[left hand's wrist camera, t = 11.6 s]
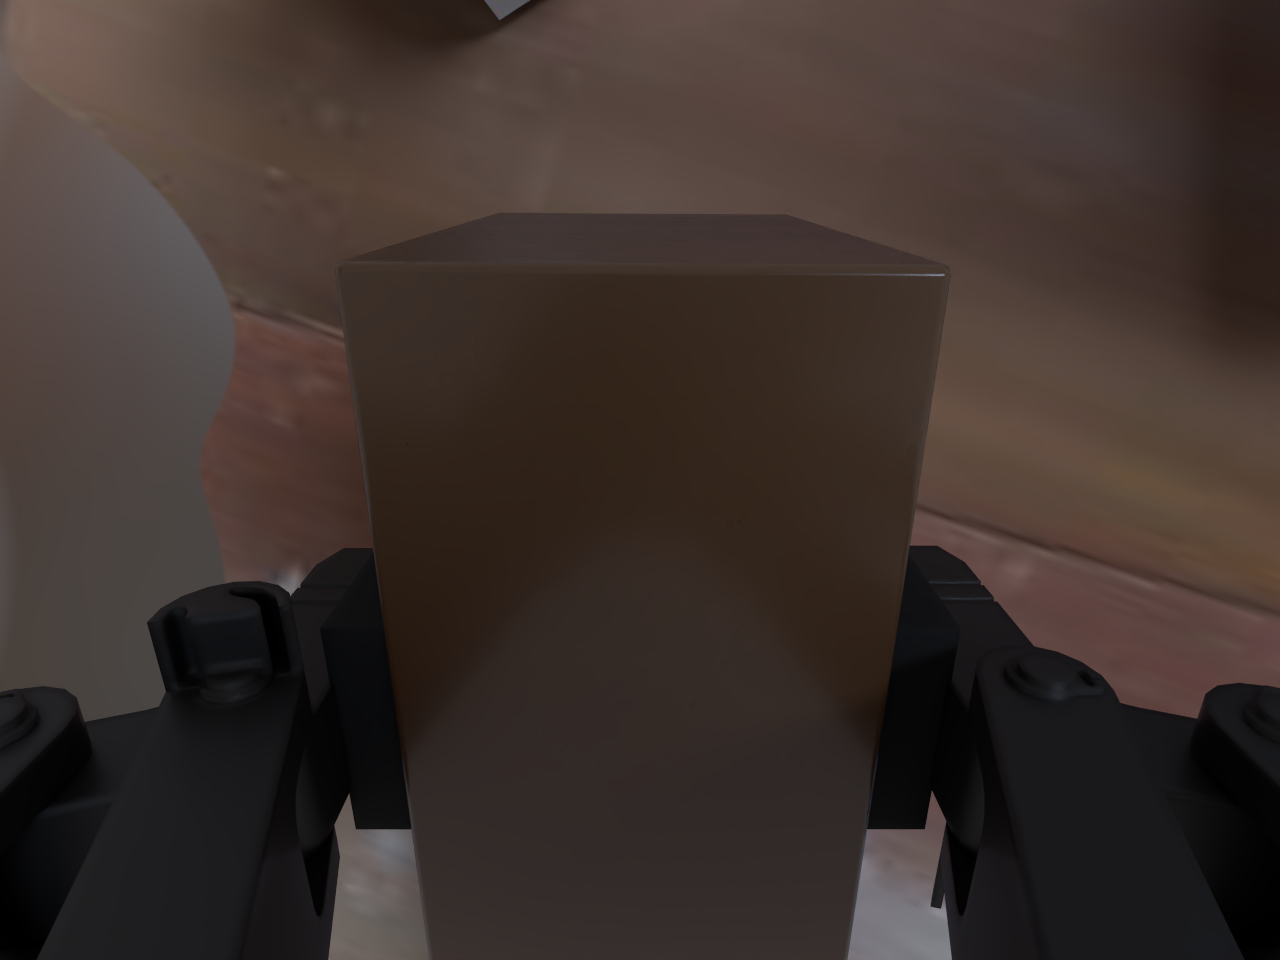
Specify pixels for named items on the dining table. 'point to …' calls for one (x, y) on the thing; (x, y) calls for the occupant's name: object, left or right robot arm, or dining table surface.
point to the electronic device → (504, 6)
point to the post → (640, 569)
